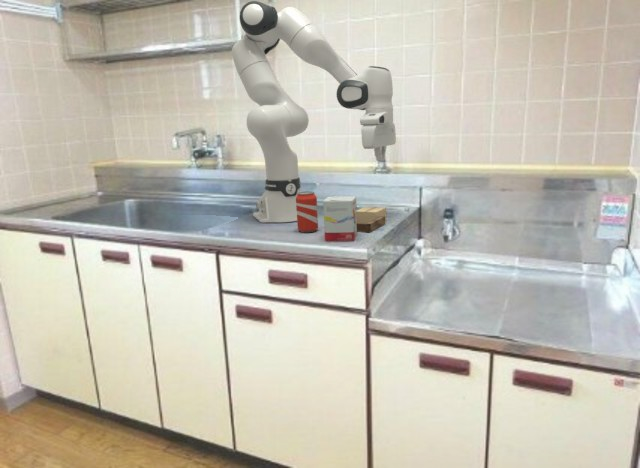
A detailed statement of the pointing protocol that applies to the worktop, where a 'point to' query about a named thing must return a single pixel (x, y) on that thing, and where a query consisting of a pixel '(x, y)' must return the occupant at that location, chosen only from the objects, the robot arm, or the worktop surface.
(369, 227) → the brown u-shaped frame
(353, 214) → the ink box
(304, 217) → the beverage can
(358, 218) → the carton
